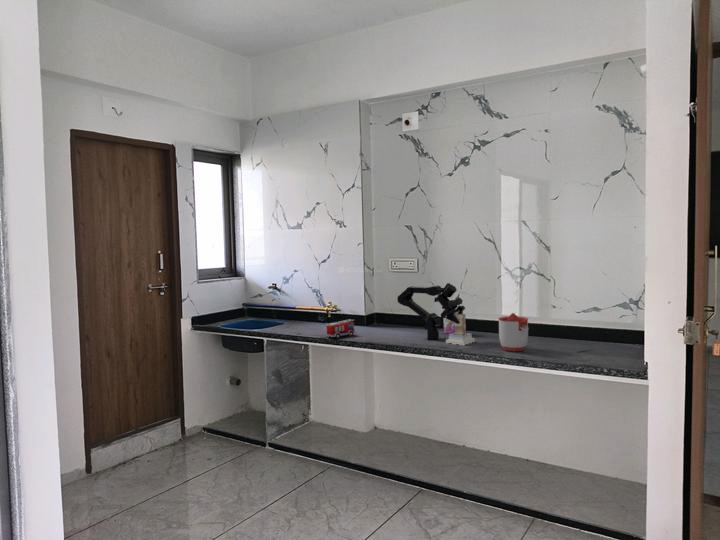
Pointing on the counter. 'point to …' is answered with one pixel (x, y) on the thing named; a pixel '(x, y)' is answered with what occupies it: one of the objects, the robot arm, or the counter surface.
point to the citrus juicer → (513, 332)
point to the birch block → (460, 325)
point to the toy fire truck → (340, 328)
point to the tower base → (460, 339)
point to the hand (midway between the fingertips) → (461, 322)
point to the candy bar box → (449, 326)
